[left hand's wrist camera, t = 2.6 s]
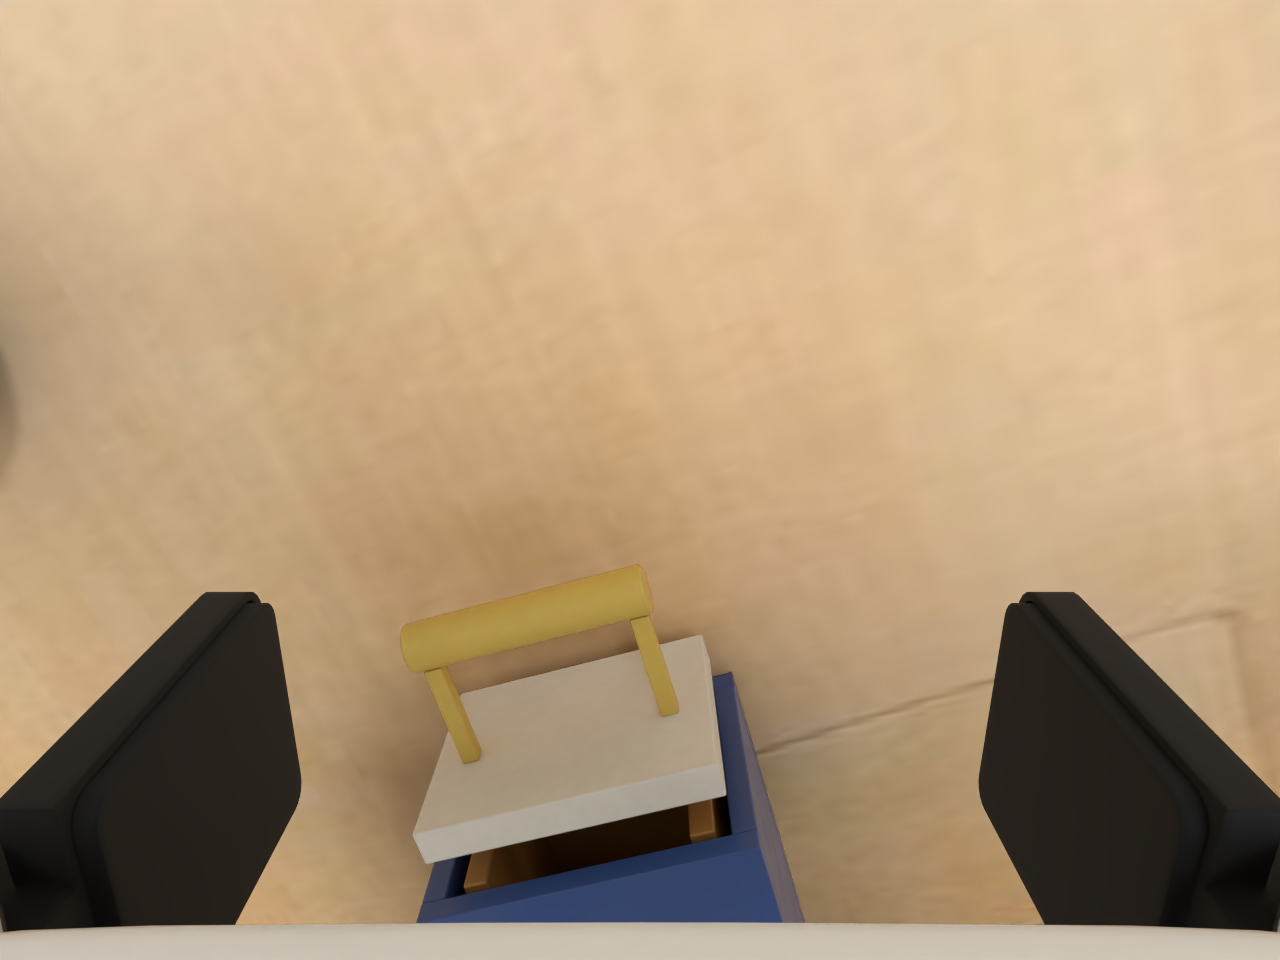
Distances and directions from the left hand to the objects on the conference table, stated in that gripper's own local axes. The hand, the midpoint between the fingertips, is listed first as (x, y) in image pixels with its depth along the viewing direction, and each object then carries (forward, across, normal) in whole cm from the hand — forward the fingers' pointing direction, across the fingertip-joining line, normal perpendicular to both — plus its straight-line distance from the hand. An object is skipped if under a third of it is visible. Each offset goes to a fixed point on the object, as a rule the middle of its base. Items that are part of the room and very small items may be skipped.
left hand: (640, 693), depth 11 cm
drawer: (+19, +1, +18) cm, 26 cm away
